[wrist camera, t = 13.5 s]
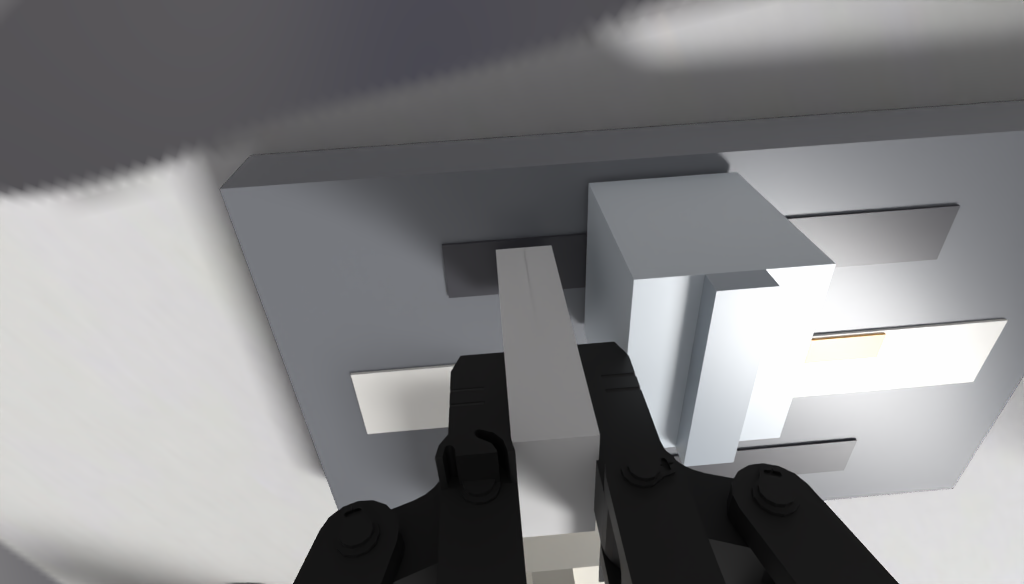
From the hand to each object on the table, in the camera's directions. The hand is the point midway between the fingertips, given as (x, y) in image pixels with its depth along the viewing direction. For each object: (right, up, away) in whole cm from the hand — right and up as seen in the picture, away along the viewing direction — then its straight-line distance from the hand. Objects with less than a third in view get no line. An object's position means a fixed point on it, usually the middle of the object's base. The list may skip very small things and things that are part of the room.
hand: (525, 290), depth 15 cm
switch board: (+5, -2, +6) cm, 8 cm away
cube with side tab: (+4, +1, +1) cm, 4 cm away
